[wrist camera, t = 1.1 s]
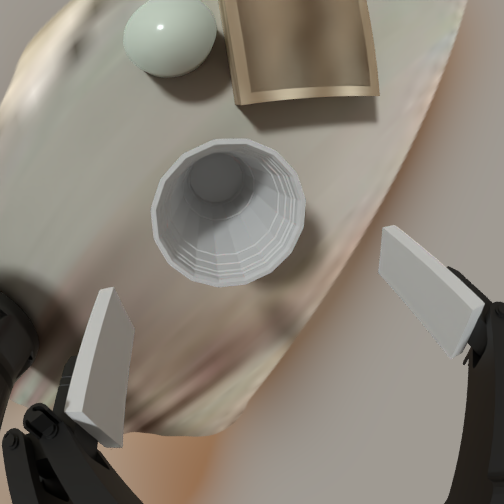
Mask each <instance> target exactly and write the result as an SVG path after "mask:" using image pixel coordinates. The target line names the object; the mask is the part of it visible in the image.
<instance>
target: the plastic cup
mask: <svg viewBox="0 0 504 504" xmlns="http://www.w3.org/2000/svg"><path fill="white" fill-rule="evenodd" d="M305 204H306V199H305V196H304V193H303V190H302V187H301V184H300V181H299V178H298V175H297V172H296V171H295V170H294V169H293V168H292V167H291V166H290V165H289V164H288V162H287V161H286V160H285V159H284V158H283V157H282V156H281V155H280V154H279V153H278V152H277V151H276V150H274V149H271V148H269V147H267V146H264V145H262V144H260V143H257V142H255V141H252V140H250V139H214V140H211V141H209V142H207V143H205V144H202V145H200V146H198V147H196V148H194V149H192V150H189V151H187V152H185V153H183V154H182V155H181V156H180V157H179V158H178V160H177V161H176V162H175V163H174V164H173V165H172V166H171V167H170V168H169V170H168V171H167V172H166V173H165V174H164V175H163V176H162V178H161V179H160V182H159V185H158V188H157V191H156V194H155V197H154V200H153V203H152V206H151V218H152V227H153V236H154V240H155V242H156V244H157V246H158V247H159V249H160V251H161V252H162V254H163V256H164V257H165V259H166V261H167V262H168V264H169V265H170V266H172V267H173V268H175V269H176V270H177V271H179V272H180V273H182V274H183V275H184V276H186V277H187V278H189V279H190V280H191V281H195V282H199V283H203V284H207V285H211V286H215V287H226V286H236V285H245V284H248V283H250V282H252V281H254V280H256V279H259V278H261V277H263V276H265V275H267V274H269V273H271V272H272V271H273V270H274V269H275V268H276V267H278V266H279V265H280V264H281V263H282V262H283V261H284V260H285V259H286V258H287V257H288V256H289V255H290V254H291V253H292V251H293V249H294V247H295V245H296V242H297V240H298V238H299V236H300V234H301V232H302V230H303V228H304V217H305Z"/></svg>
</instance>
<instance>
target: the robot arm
mask: <svg viewBox="0 0 504 504" xmlns="http://www.w3.org/2000/svg"><path fill="white" fill-rule="evenodd" d="M378 273H379V274H380V275H381V277H382V278H383V279H384V280H385V281H386V282H387V283H388V284H389V286H390V287H391V288H392V289H393V290H394V291H395V292H396V293H397V295H398V296H399V297H400V298H401V299H402V300H403V302H404V303H405V304H406V305H407V306H408V307H409V309H410V310H411V311H412V312H413V313H414V314H415V316H416V317H417V318H418V319H419V321H420V322H421V323H422V324H423V325H424V327H425V328H426V329H427V330H428V332H429V333H430V334H431V335H432V337H433V338H434V339H435V340H436V342H437V343H438V344H439V345H440V347H441V348H442V349H443V351H444V352H445V353H446V355H447V356H448V357H449V358H450V359H452V358H454V357H455V356H457V355H459V354H461V353H462V352H463V350H464V348H465V346H466V344H467V343H468V344H469V345H470V346H471V348H470V350H469V352H468V354H467V356H466V357H465V359H464V361H463V365H465V364H466V362H467V360H468V359H469V364H468V366H469V368H468V369H469V370H468V388H467V402H466V411H465V419H464V427H463V433H462V440H461V445H460V451H459V456H458V461H457V465H456V470H455V474H454V478H453V482H452V486H451V489H450V493H449V496H448V498H447V500H446V502H445V503H444V504H504V303H502V302H494V303H492V302H491V301H490V300H489V299H488V298H487V297H486V296H485V295H484V294H483V293H482V292H480V290H478V289H477V288H476V287H475V286H474V285H473V284H471V282H470V281H469V280H468V279H466V278H465V277H464V276H463V275H462V274H461V273H460V272H459V271H457V270H455V269H453V268H451V267H449V266H448V267H445V266H444V265H443V264H442V263H441V262H440V261H438V260H437V259H436V258H435V257H434V256H433V255H431V254H430V253H429V252H428V251H426V250H425V249H424V248H423V247H422V246H421V245H419V244H418V243H417V242H416V241H414V240H413V239H412V238H411V237H409V236H408V235H407V234H405V233H404V232H403V231H402V230H401V229H399V228H398V227H397V226H395V225H392V226H387V227H383V230H382V241H381V252H380V262H379V270H378ZM134 333H135V328H134V326H133V324H132V322H131V321H130V319H129V317H128V315H127V313H126V311H125V309H124V307H123V305H122V303H121V301H120V299H119V297H118V295H117V292H116V290H115V288H114V287H110V288H105V289H101V290H100V291H99V293H98V296H97V299H96V302H95V304H94V307H93V310H92V313H91V316H90V319H89V322H88V325H87V328H86V331H85V334H84V337H83V340H82V343H81V347H80V350H79V353H78V356H71V357H70V359H69V360H68V362H67V363H66V365H65V367H64V370H63V374H62V378H61V381H60V386H59V388H58V392H57V396H56V399H55V404H54V408H53V411H52V410H50V409H49V408H48V407H47V406H46V405H45V404H42V403H36V404H34V405H32V406H31V407H30V408H29V409H28V410H27V411H26V413H25V415H24V419H23V426H24V428H25V429H26V430H27V431H28V432H30V433H29V434H26V435H25V434H24V433H23V432H21V431H20V430H19V429H16V428H13V429H10V430H9V431H7V433H6V434H5V435H4V437H3V441H2V449H3V457H4V464H5V470H6V476H7V481H8V486H9V491H10V495H11V499H12V503H13V504H143V503H142V502H141V500H140V499H139V498H138V497H137V496H136V495H135V494H134V493H133V492H132V491H131V489H130V488H129V487H128V486H127V485H126V484H125V482H124V481H123V480H122V479H121V478H120V476H119V475H118V474H117V473H116V471H115V470H114V469H113V468H112V466H111V465H110V464H109V462H108V461H107V460H106V459H105V457H104V456H103V454H102V453H101V452H100V451H99V450H98V449H97V444H98V442H99V443H100V444H102V445H103V446H104V447H107V448H111V447H113V448H120V447H121V448H122V447H123V430H124V416H125V404H126V394H127V385H128V376H129V368H130V360H131V353H132V346H133V339H134ZM38 349H39V339H38V335H37V332H36V330H35V328H34V326H33V324H32V323H31V321H30V320H29V318H28V317H27V315H26V314H25V313H24V312H23V311H22V309H21V308H20V307H19V306H18V305H17V304H16V303H14V302H13V301H12V300H11V299H10V298H8V297H7V296H6V295H4V294H3V293H1V292H0V429H1V425H2V422H3V417H4V414H5V410H6V407H7V403H8V400H9V397H10V394H11V391H12V388H13V385H14V383H15V382H16V381H17V380H18V379H19V378H20V377H21V375H22V374H23V373H24V372H25V371H26V370H27V369H28V368H29V367H30V366H31V365H32V363H33V362H34V360H35V357H36V355H37V352H38Z"/></svg>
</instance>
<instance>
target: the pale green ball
mask: <svg viewBox="0 0 504 504" xmlns="http://www.w3.org/2000/svg"><path fill="white" fill-rule="evenodd" d="M216 31H217V27H216V21H215V18H214V15H213V13H212V12H211V10H210V9H209V8H208V7H207V6H206V5H205V4H204V3H203V2H201V1H200V0H150V1H148V2H147V3H145V4H144V5H142V6H141V7H140V8H139V9H137V10H136V11H135V13H134V14H133V15H132V16H131V18H130V19H129V21H128V23H127V25H126V27H125V31H124V37H123V42H124V48H125V51H126V54H127V56H128V57H129V59H130V60H131V61H132V62H133V63H134V64H135V65H136V66H137V67H139V68H140V69H142V70H144V71H145V72H147V73H149V74H151V75H154V76H157V77H162V78H174V77H179V76H182V75H185V74H188V73H190V72H192V71H193V70H195V69H196V68H198V67H199V66H200V65H201V64H202V63H203V62H204V61H205V60H206V58H207V57H208V55H209V53H210V52H211V49H212V46H213V44H214V41H215V38H216Z"/></svg>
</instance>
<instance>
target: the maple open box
mask: <svg viewBox="0 0 504 504" xmlns="http://www.w3.org/2000/svg"><path fill="white" fill-rule="evenodd" d="M218 3H219V9H220V15H221V21H222V27H223V33H224V39H225V45H226V51H227V57H228V63H229V69H230V75H231V81H232V88H233V94H234V100H235V105H246V104H253V103H261V102H269V101H278V100H288V99H299V98H313V97H332V96H380V93H379V82H378V72H377V63H376V55H375V48H374V41H373V34H372V28H371V22H370V17H369V12H368V6H367V2H366V0H218Z"/></svg>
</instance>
